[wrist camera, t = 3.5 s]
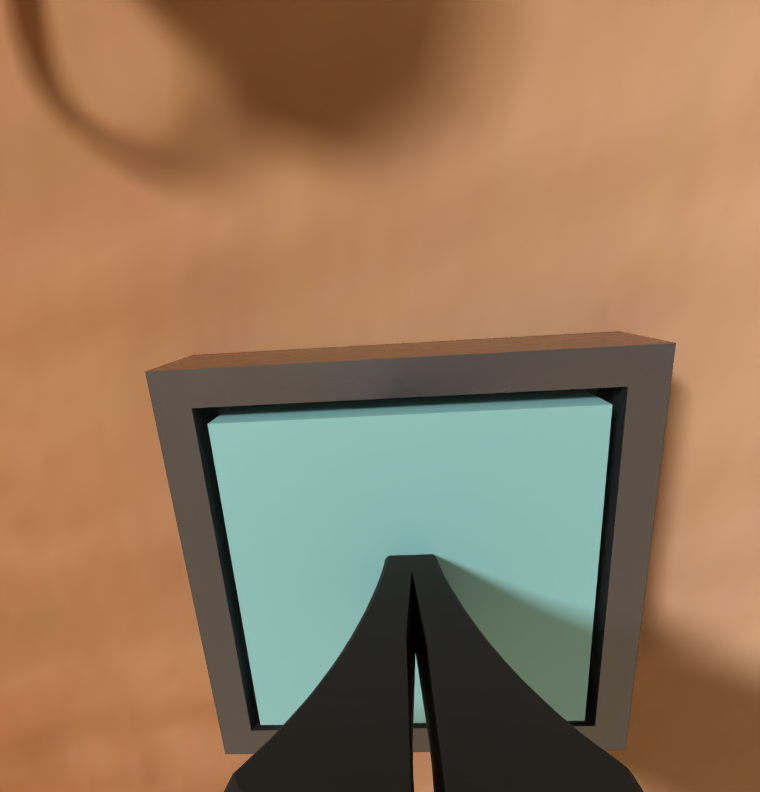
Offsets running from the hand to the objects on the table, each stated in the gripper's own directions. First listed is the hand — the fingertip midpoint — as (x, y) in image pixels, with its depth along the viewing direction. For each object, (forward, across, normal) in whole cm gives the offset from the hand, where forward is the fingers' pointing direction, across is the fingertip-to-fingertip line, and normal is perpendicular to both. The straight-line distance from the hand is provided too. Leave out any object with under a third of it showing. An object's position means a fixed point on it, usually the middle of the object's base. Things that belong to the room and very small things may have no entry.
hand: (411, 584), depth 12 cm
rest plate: (+1, 0, 0) cm, 1 cm away
